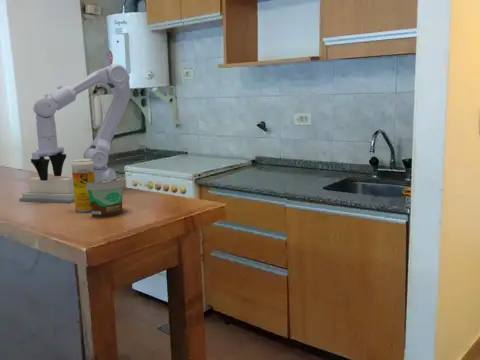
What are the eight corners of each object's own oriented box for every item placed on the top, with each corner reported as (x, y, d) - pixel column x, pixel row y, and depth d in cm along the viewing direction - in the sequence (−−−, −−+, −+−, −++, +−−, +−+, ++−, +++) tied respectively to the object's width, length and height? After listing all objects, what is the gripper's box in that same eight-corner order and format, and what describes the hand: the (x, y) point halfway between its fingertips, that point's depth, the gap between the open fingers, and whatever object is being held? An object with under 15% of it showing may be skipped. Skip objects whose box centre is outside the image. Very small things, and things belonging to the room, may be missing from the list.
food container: (103, 220, 134) (100, 184, 132) (88, 217, 137) (85, 182, 135) (135, 210, 144) (133, 176, 142) (120, 208, 148) (118, 175, 146)
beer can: (77, 213, 142) (73, 162, 139) (73, 209, 147) (69, 159, 144) (98, 210, 145) (95, 160, 142) (94, 206, 150) (90, 157, 147)
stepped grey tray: (85, 196, 164) (84, 190, 163) (70, 203, 155) (69, 196, 155) (36, 195, 168) (35, 188, 168) (19, 201, 159) (18, 194, 159)
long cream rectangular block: (74, 196, 161) (72, 178, 160) (69, 198, 158) (67, 180, 157) (36, 195, 164) (34, 177, 163) (30, 196, 162) (28, 178, 160)
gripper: (49, 134, 166) (53, 174, 168) (21, 138, 152) (26, 182, 154) (68, 134, 164) (71, 174, 167) (41, 138, 150) (46, 182, 153)
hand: (51, 178), depth 160 cm, fingers open, 7 cm apart
